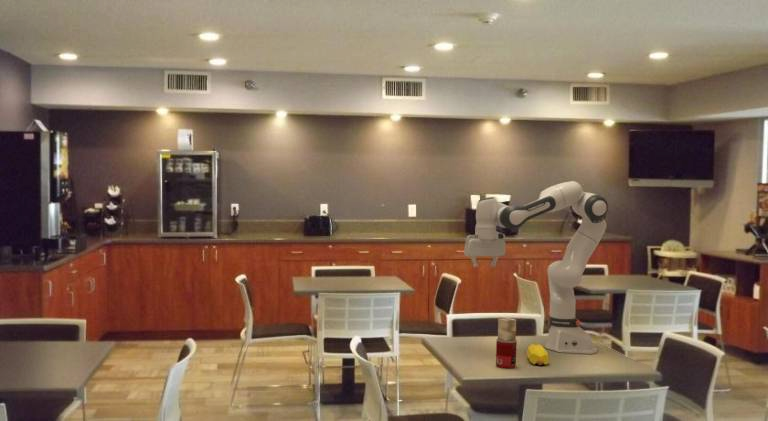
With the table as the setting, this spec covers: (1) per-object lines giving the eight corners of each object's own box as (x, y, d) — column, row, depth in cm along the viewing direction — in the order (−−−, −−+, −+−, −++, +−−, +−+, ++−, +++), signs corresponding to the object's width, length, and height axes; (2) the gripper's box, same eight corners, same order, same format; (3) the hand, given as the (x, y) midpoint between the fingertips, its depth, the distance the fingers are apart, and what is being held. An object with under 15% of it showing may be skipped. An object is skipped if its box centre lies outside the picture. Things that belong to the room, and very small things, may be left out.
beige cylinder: (507, 337, 305) (508, 317, 305) (515, 339, 301) (516, 319, 300) (497, 338, 302) (498, 318, 302) (505, 340, 298) (506, 320, 298)
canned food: (515, 369, 297) (516, 341, 297) (495, 367, 299) (496, 340, 299) (516, 364, 305) (516, 337, 304) (496, 363, 306) (497, 336, 306)
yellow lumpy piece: (543, 357, 320) (525, 356, 321) (544, 342, 320) (526, 341, 321) (550, 367, 302) (530, 366, 303) (550, 351, 302) (531, 350, 303)
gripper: (470, 235, 319) (469, 268, 319) (508, 235, 329) (507, 266, 329) (461, 234, 324) (460, 266, 324) (499, 234, 334) (498, 265, 335)
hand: (484, 266), depth 327 cm, fingers open, 8 cm apart
